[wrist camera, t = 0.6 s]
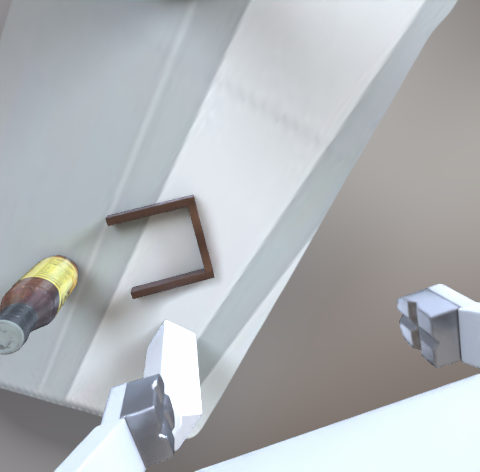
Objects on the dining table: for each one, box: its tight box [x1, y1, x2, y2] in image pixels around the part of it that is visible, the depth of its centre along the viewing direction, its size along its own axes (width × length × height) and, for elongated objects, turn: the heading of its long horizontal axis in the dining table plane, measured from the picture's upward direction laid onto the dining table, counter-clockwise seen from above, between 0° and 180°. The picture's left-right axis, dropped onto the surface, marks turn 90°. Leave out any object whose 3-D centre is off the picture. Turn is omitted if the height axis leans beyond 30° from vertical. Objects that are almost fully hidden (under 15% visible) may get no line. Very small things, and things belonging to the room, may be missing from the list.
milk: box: [143, 320, 202, 451], centre depth 51 cm, size 6×6×22 cm
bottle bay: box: [105, 195, 214, 299], centre depth 56 cm, size 13×13×2 cm
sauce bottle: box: [0, 255, 78, 354], centre depth 46 cm, size 6×6×20 cm
